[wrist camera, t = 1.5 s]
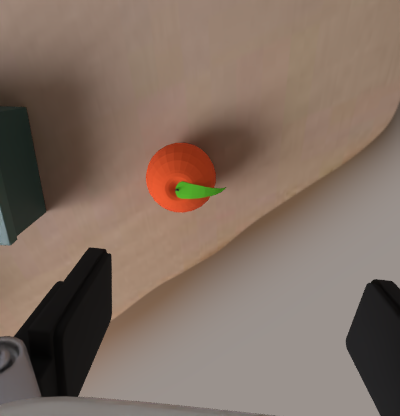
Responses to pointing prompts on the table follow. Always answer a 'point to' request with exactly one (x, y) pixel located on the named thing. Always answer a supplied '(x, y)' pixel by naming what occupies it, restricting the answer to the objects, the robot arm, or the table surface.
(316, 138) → the table surface
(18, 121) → the box
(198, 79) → the table surface
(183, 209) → the clementine
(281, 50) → the table surface
